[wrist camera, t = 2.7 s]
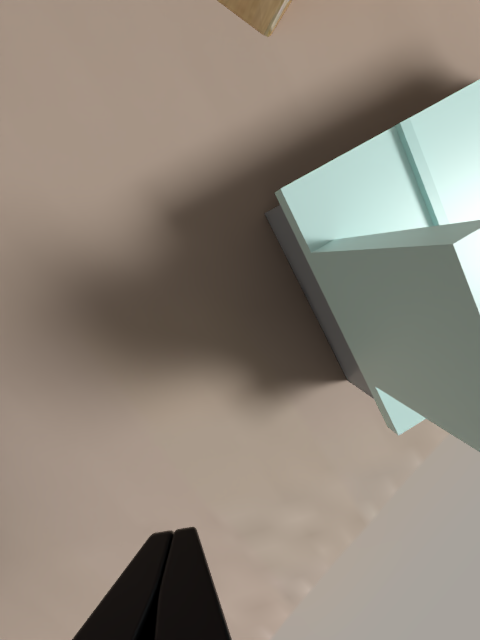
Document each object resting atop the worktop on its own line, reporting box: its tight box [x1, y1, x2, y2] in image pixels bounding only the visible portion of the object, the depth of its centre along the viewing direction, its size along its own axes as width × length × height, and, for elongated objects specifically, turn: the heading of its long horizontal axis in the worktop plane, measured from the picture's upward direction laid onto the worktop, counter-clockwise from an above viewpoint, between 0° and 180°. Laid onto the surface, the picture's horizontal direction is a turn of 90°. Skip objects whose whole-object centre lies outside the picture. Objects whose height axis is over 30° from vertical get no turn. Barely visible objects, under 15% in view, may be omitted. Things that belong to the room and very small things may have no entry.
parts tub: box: [265, 205, 374, 398], centre depth 18 cm, size 14×10×4 cm
